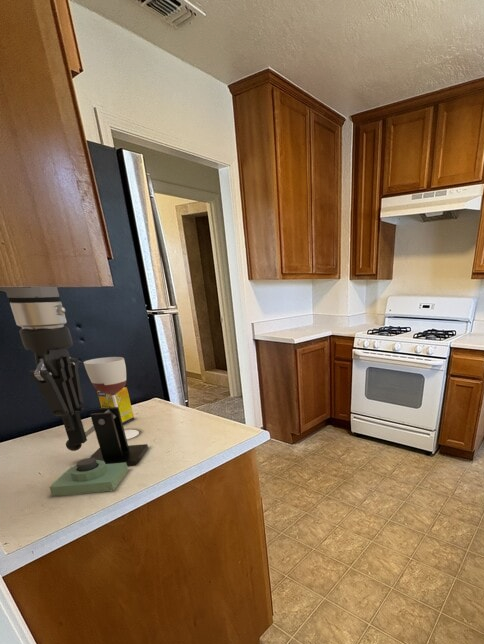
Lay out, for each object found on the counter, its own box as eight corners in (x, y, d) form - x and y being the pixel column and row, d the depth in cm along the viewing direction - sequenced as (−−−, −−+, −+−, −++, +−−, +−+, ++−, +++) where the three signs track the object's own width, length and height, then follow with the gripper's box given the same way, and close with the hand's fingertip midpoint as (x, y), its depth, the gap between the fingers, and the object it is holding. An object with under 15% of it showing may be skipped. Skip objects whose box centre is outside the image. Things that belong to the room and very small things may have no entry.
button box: (52, 496, 74) (46, 479, 72) (73, 475, 82) (68, 459, 80) (113, 490, 75) (109, 474, 74) (128, 470, 83) (124, 455, 82)
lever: (71, 455, 86) (60, 446, 85) (77, 449, 89) (66, 441, 87) (113, 421, 84) (102, 411, 83) (118, 416, 87) (108, 407, 86)
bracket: (83, 469, 84) (67, 419, 79) (100, 451, 93) (87, 405, 88) (136, 465, 86) (123, 416, 81) (148, 448, 95) (137, 402, 90)
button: (75, 473, 75) (73, 465, 75) (83, 465, 79) (80, 458, 78) (93, 471, 76) (91, 464, 75) (100, 463, 79) (98, 456, 78)
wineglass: (146, 433, 104) (129, 359, 96) (112, 444, 98) (90, 365, 89) (133, 426, 110) (116, 355, 101) (100, 436, 103) (78, 361, 94)
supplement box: (105, 424, 112) (96, 391, 107) (119, 418, 117) (111, 386, 113) (121, 425, 110) (112, 392, 106) (134, 419, 116) (127, 386, 112)
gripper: (46, 330, 60) (83, 454, 69) (82, 322, 72) (109, 429, 81) (-3, 331, 59) (41, 457, 68) (41, 323, 71) (74, 431, 80)
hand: (78, 442), depth 75 cm, fingers closed
